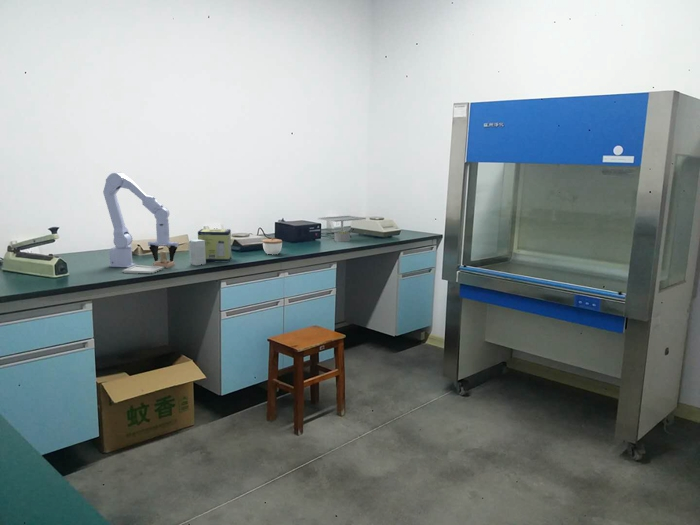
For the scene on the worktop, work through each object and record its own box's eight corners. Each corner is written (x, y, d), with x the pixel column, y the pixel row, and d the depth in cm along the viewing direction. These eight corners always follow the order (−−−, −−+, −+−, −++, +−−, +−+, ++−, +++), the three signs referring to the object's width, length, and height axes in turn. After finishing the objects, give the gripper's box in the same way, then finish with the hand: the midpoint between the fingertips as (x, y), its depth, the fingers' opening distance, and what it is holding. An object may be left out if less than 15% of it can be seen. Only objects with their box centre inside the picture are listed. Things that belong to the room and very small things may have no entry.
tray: (122, 272, 253) (122, 270, 253) (135, 267, 265) (135, 265, 264) (152, 274, 251) (152, 271, 251) (163, 269, 263) (163, 266, 263)
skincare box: (200, 262, 280) (200, 239, 278) (206, 264, 278) (205, 240, 276) (190, 264, 276) (189, 240, 274) (195, 265, 273) (195, 241, 271)
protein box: (201, 258, 293) (200, 228, 291) (231, 258, 295) (231, 229, 292) (198, 261, 283) (197, 231, 280) (229, 262, 285) (228, 231, 282)
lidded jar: (259, 253, 312) (258, 236, 310) (275, 251, 318) (275, 235, 317) (269, 256, 304) (269, 239, 302) (285, 254, 311) (286, 237, 309)
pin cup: (153, 267, 267) (153, 263, 267) (160, 264, 274) (159, 260, 274) (168, 267, 266) (168, 264, 266) (174, 264, 274) (174, 261, 273)
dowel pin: (159, 266, 269) (159, 252, 268) (162, 265, 272) (161, 251, 271) (165, 266, 269) (165, 252, 267) (168, 265, 272) (167, 251, 270)
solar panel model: (347, 237, 384) (348, 215, 381) (365, 240, 372) (366, 217, 369) (317, 240, 365) (317, 217, 362) (334, 243, 353) (335, 220, 350)
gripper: (144, 233, 264) (145, 261, 267) (173, 234, 263) (174, 263, 265) (151, 231, 271) (152, 259, 274) (180, 232, 270) (180, 260, 272)
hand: (163, 261), depth 270 cm, fingers open, 7 cm apart
